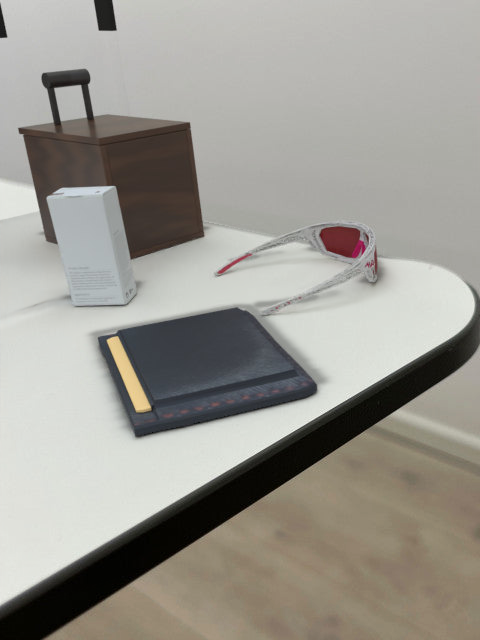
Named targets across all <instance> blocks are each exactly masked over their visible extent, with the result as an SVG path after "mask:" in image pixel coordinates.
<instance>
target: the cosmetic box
mask: <svg viewBox="0 0 480 640" xmlns="http://www.w3.org/2000/svg"><path fill="white" fill-rule="evenodd" d="M47 203H48V207H49V210H50V214H51V218H52V222H53V226H54V230H55V234H56V238H57V242H58V244H57V247H58V250H59V254H60V259H61V264H62V266H63V270H64V274H65V278H66V283H67V288H68V291H69V294H70V299H71V303H72V306H73V307H85V306H86V307H87V306H91V307H92V306H119V305H122V306H123V305H127V304H128V303H130V301H132V299H133V298H134V297H135V296H136V295H137V294H138V289H137V284H136V279H135V275H134V274H135V273H134V270H133V263H132V259H130V254H129V249H128V244H127V239H126V234H125V229H124V224H123V219H122V214H121V210H120V205H119V200H118V195H117V190H116V187H115V186H103V187H75V188H61V189H59V190H57V191H56V192H54V193H52V194H51V195H49V196H48V197H47Z"/></svg>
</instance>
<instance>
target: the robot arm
mask: <svg viewBox="0 0 480 640" xmlns="http://www.w3.org/2000/svg"><path fill="white" fill-rule="evenodd" d="M113 2H114V1H113V0H93V5H94V10H95V16H96V23H97V30H98V31H99V32H117V31H118V28H117V22H116V15H115V8H114V3H113ZM7 38H9V37H8V33H7V28H6V24H5V19H4V14H3V8H2V4H1V3H0V39H7Z"/></svg>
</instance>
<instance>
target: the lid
mask: <svg viewBox="0 0 480 640" xmlns="http://www.w3.org/2000/svg"><path fill="white" fill-rule="evenodd" d="M40 77H41V78H40V79H41V83H42V86H43V87H44V88H45V90H47V95H48V101H49V106H50V111H51V116H52V120H53V122H47V123H40V124H33V125H28V126H26V125H25V126H21V127H17V130H18V134H19V135H22V136H23V135H30V136H38V137H45V138H52V139H59V140H67V141H74V142H81V143H88V144H95V145H103V144H109V143H114V142H120V141H125V140H131V139H136V138H142V137H147V136H153V135H158V134H164V133H169V132H175V131H180V130H186V129H191V128H192V126H191V122H190V121H181V120H172V119H171V120H170V119H159V118H151V117H150V118H149V117H140V116H128V115H120V114H119V115H118V114H108V113H107V114H100V115H95V114H94V110H93V105H92V98H91V94H90V88H89V84H90V83H91V79H92V78H91V74H90V72H89V70H88V69H87V68H78V69H77V68H76V69H67V70H58V71H57V70H56V71H48V72H42V73H41V75H40ZM76 86H78V87H79V86H80V88H81V93H82V99H83V104H84V110H85V115H86V117H79V118H73V119H67V120H61V116H60V111H59V106H58V105H59V104H58V101H57V96H56V91H55V89H59V88H60V89H61V88H68V87H76Z"/></svg>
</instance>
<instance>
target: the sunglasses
mask: <svg viewBox="0 0 480 640" xmlns="http://www.w3.org/2000/svg"><path fill="white" fill-rule="evenodd" d="M376 240H377V238H376V233H375V232H374V231H373V228H371V227H370V226H368V225H366V224H364V223H362V222H359V221H356V220H330V221H325V222H324V221H322V222H317V223H313V224H310V225H306V226H303V227H300V228H298V229H295V230H292V231H289V232H286V233H283V234H281V235H279V236H276V237H275V238H272V239H271V240H267V241H265V242H263V243H262V244H260V245H258V246H256V247H254V248H252V249H249V250H247V251H246V252H244V253H241V254H239V255H238V256H236V257H234V258H231V260H229V261H228V262H226V263H225V264H223V265H222V266H220V267H219V268H218V269H216V270H215V271H214V272H213V275H214V276H220V275H223V274H225V273H226V272H227V271H228V270H230V269H231V268H233V267H234V266H236V265H237V264H240V263H241V262H242V261H244V260H245V259H248V258H250V257H252V256H254V255H257V254H258V253H261V252H264V251H267V250H270V249H274V248H279V247H281V246H285V245H288V244H294V243H298V242H304V241H307V242H308V244H309V245H310V247H311V248H313V249H315V250H317V251H318V252H319V254H320V255H322V256H325V257H328V258H331V259H333V260H336V261H341V262H342V263H343V262H344V263H347V264H349V266H348V267H346V268H344V269H343V270H342V271H340V272H338V273H337V274H335V275H333V276H332V277H329V278H328V279H326V280H324V281H322V282H320V283H318V284H317V285H314V286H313V287H311V288H309V289H307V290H305V291H303V292H301V293H298V294H296V295H294V296H292V297H289V298H287V299H284V300H282V301H279V302H276V303H274V304H271V305H270V306H267V307H264V308H262V309H260V310H259V314H260V315H266V316H268V315H270V314H274V313H276V312H279V311H281V310H283V309H285V308H287V307H289V306H291V305H293V304H296V303H298V302H300V301H302V300H305V299H307V298H310V297H313V296H315V295H318V294H319V293H322V292H325V291H327V290H330V289H332V288H335V287H338V286H339V285H342V284H345V283H347V282H349V281H350V280H353V279H355V278H356V277H358V276H360V275H362V274H364V276H365V278H366V280H368V282H369V283H375V282H376V281H377V279H378V274H377V272H378V252H377V241H376ZM350 264H351V265H350Z"/></svg>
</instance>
